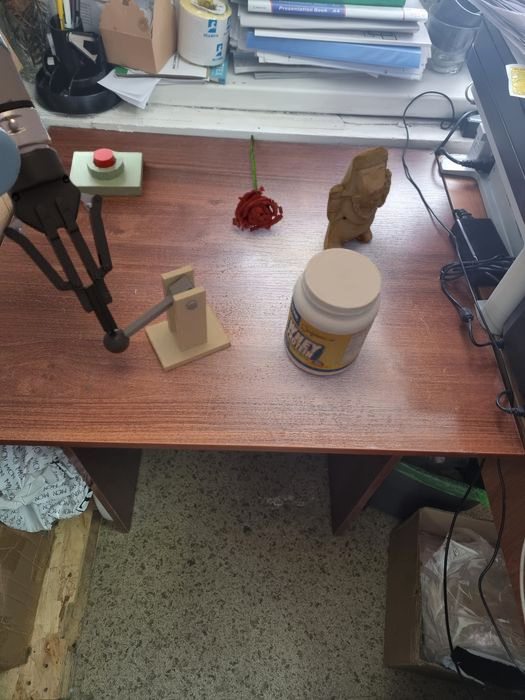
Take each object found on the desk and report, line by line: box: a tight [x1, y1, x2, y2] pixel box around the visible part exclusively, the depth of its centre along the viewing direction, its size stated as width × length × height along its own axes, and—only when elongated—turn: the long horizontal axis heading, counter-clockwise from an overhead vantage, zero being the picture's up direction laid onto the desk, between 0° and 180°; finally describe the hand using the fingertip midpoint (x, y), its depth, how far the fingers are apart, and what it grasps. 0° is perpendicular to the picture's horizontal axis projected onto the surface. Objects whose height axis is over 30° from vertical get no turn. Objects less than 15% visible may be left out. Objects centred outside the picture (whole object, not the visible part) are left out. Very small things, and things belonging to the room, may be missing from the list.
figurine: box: [323, 145, 393, 250], centre depth 85 cm, size 13×7×20 cm, turn 118°
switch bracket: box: [144, 264, 232, 373], centre depth 74 cm, size 11×8×14 cm
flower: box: [231, 134, 284, 233], centre depth 99 cm, size 9×10×30 cm
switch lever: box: [102, 276, 196, 355], centre depth 70 cm, size 15×4×4 cm, turn 118°
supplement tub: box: [283, 247, 382, 376], centre depth 74 cm, size 12×12×17 cm
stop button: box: [93, 147, 115, 168], centre depth 94 cm, size 4×4×2 cm
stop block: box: [69, 149, 144, 197], centre depth 96 cm, size 13×10×4 cm
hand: (110, 329), depth 69 cm, fingers closed
